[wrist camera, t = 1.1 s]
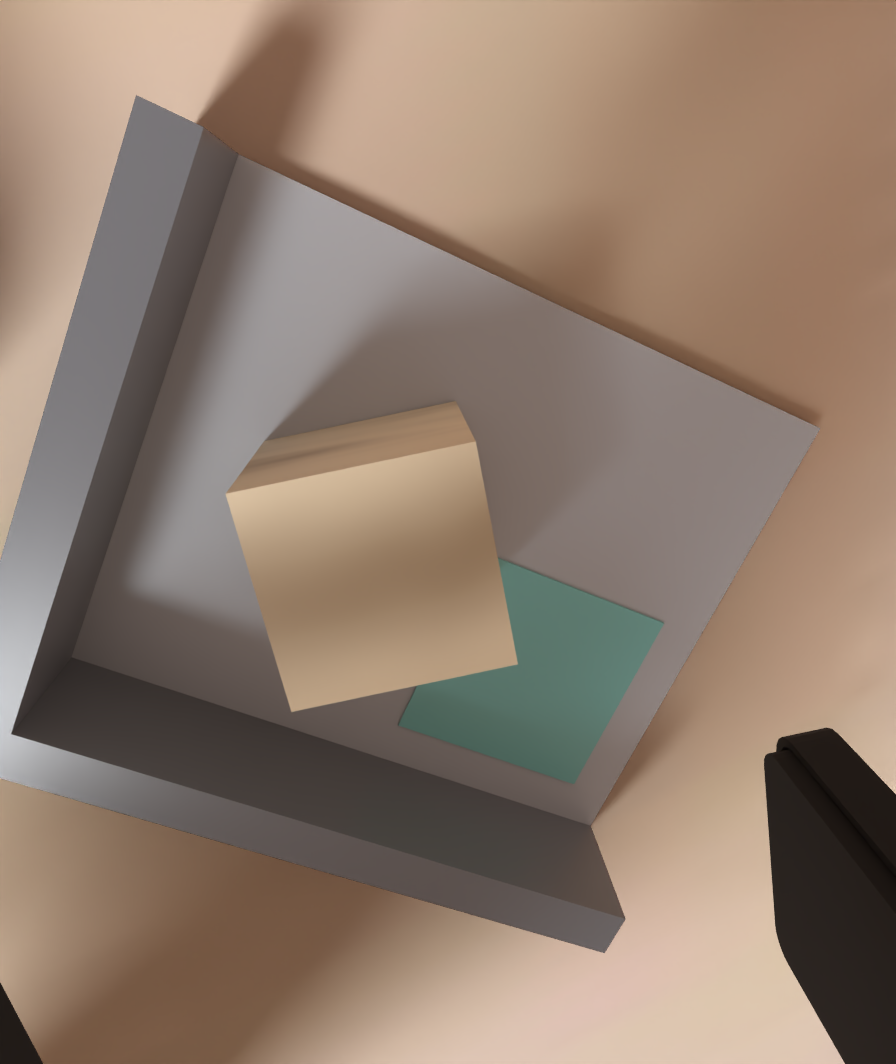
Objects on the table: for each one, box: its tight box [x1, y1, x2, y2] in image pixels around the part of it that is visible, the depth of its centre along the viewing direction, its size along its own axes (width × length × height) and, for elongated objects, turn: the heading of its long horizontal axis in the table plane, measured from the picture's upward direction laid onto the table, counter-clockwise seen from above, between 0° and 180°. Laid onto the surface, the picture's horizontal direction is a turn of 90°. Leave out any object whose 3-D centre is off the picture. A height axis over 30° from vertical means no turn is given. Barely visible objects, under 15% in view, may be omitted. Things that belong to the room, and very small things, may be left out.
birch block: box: [226, 401, 518, 712], centre depth 22 cm, size 6×6×6 cm
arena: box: [0, 95, 820, 953], centre depth 24 cm, size 18×21×5 cm
